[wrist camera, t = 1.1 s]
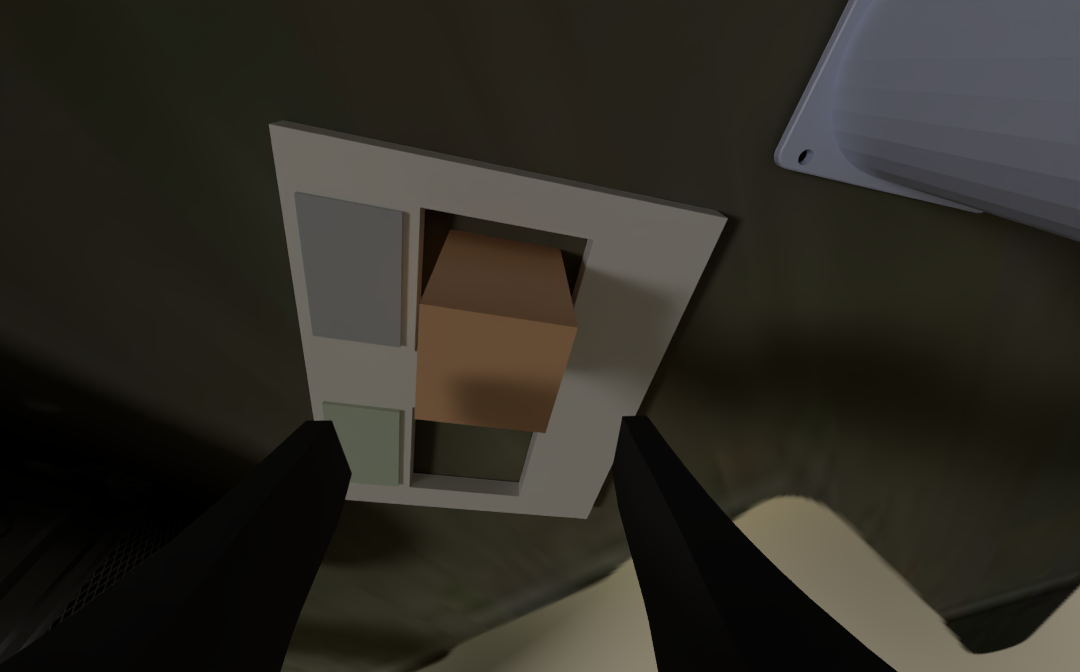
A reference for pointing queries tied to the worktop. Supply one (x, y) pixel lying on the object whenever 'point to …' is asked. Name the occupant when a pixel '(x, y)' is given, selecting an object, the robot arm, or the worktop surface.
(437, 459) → the worktop surface
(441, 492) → the panel
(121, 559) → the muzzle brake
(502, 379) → the plug
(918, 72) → the robot arm
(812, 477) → the worktop surface
